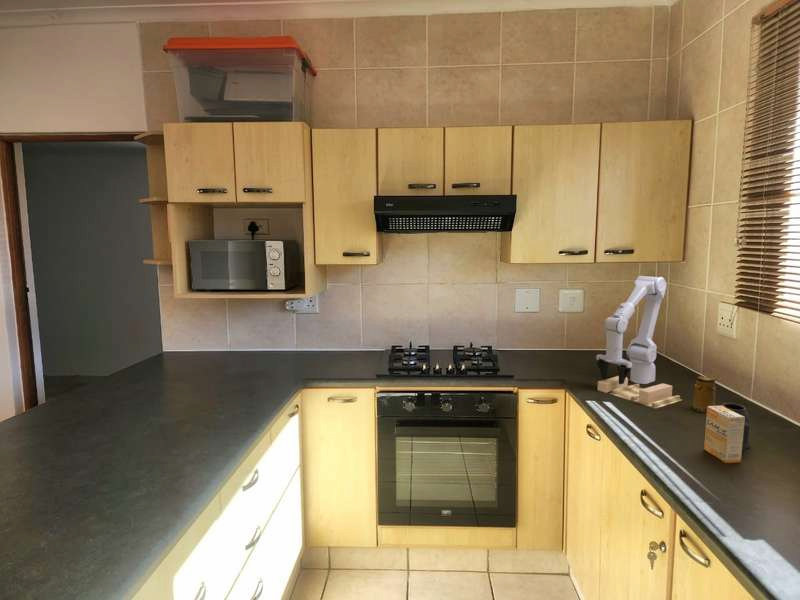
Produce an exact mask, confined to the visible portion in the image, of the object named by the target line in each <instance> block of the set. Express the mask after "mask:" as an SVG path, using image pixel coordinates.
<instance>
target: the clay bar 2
mask: <svg viewBox="0 0 800 600" xmlns="http://www.w3.org/2000/svg"><path fill="white" fill-rule="evenodd" d="M669 397H673V385H670V384H667V383H659V384H656V385H652V386H648V387H646V388H643V389H641V390H639V402H641V403H644V404H647V405H649V404H652V403H653V402H656V401H659V400H663V399H666V398H669Z"/></svg>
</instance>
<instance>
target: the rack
mask: <svg viewBox="0 0 800 600" xmlns="http://www.w3.org/2000/svg"><path fill="white" fill-rule="evenodd" d="M641 389H644V388H643V387H640V384H639V383H634V384H630V385H628V386H626V387H623V388H619V389H615V390H612V391H611V392H610V393H609V392H608V393H609V395H613V396H615V397H618V398H621V399H625V400H628V401H631V402H634V403H637V404H641V405H643V406H646V407H650V408H653V409H659V408H661V407H662V408H663V407H665V406H669V405H671V404H675V403H678V402H681V401H682V399H681V396H680V395H678V394H677V395H672V397H669V398H666V399H663V400H659V401H656V402H653V403H652V404H649V405H647V404H644V403H641V402H639V390H641Z"/></svg>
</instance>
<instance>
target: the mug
mask: <svg viewBox="0 0 800 600" xmlns="http://www.w3.org/2000/svg"><path fill="white" fill-rule="evenodd" d="M721 406H724V407H725V408H727V409H730V410H732V411H734V412H736V413H738V414H740V415H742V416H744V417H745V421H744V432H743V443H742V451H746V450H749V449H751V443H750V437H749V436H750V414H749V412H748V411H747V407H745V406H744V405H742V404H738V403H734V402H723V403H722V405H721Z"/></svg>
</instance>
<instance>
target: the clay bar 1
mask: <svg viewBox="0 0 800 600" xmlns="http://www.w3.org/2000/svg"><path fill="white" fill-rule="evenodd" d="M628 384H629V378H628V377H627V376H626V378H625V381H624V384H619V375H616V376H613V377H610V378H607V379H602V380H599V381H597V391H598V392H602V393H604V394H607V393H609V392H610V393H611V392H612V390H615V389H619V388H623V387H627V386H629V385H628Z"/></svg>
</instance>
